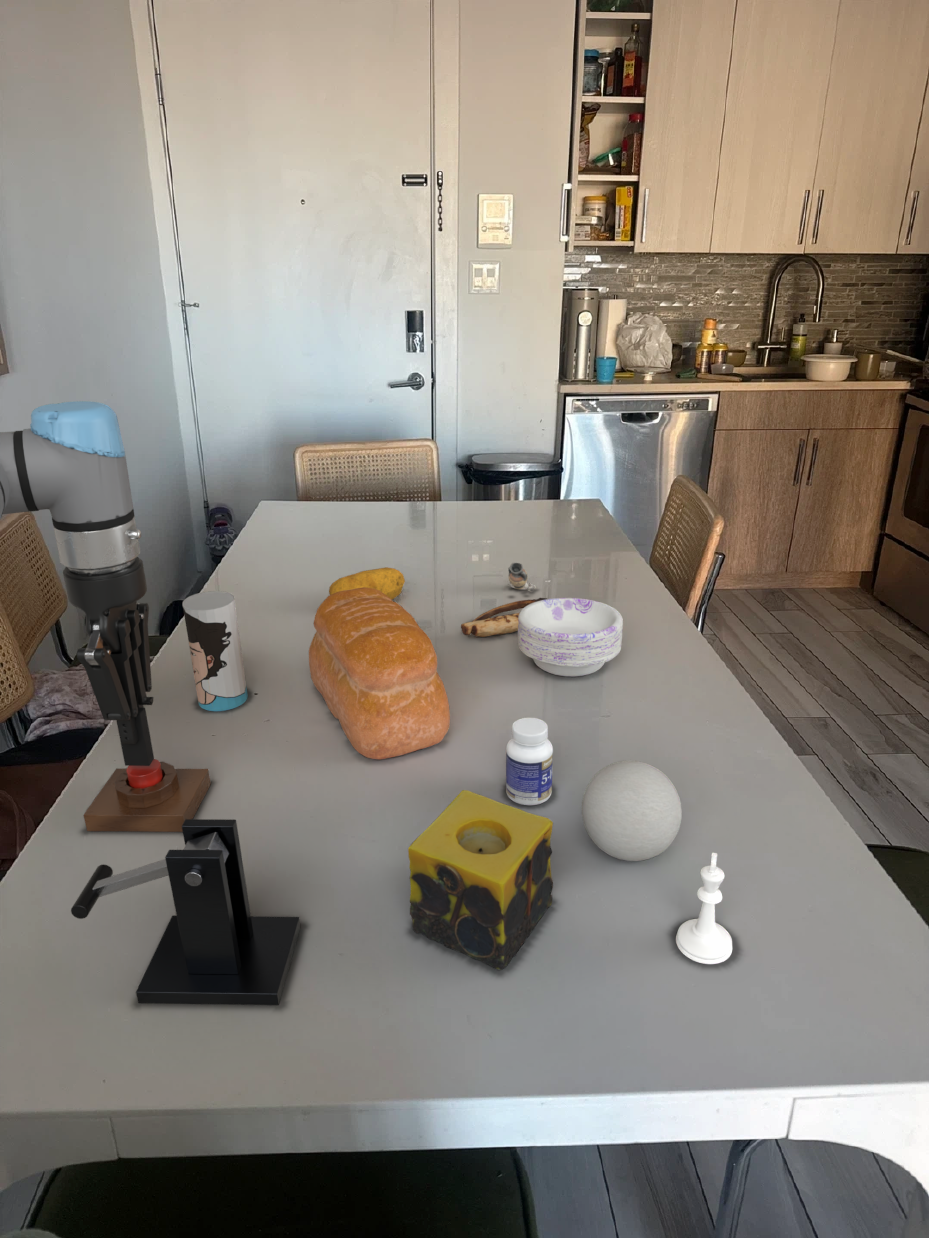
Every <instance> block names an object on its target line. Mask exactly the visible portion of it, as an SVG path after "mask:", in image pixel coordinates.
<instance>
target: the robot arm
mask: <svg viewBox="0 0 929 1238" xmlns="http://www.w3.org/2000/svg"><path fill="white" fill-rule="evenodd" d="M118 419H119V418H118V416H117V414H116V412H115V411H114V409H113V408H111V407H110V406H109V405H108V404H106V403H102V402H98V401H89V400H88V401H83V400H82V401H81V400H79V401H78V400H76V401H64V402H60V403H48V404H44V405H41V406H38V407H35V408H34V409H33V410H32V411H31V413H30V420H31V422H30V425H29V428H23V430H14V431H0V520H1V518H2V517H3V515H9V514H19V513H29V512H31V513H32V512H38V511H42V510H43V511H44V510H49V513H50V515H51V522H52V527H53V531H54V538H55V542H56V547H57V552H58V558H59V562H60V564H61V565H62V566H64V569H63V570H62V576H63V580H64V584H65V590H66V594H67V599H68V602H69V603H70V604H71V605H72V606H73V607H75V608H78V609H80V610H81V611H82V612H83V613H85V632H86V634H87V636H88V637H89V639H88V642H87V646H86V647H79V648H77V651H76V659H77V660H78V661H79V662H80V664H81V666H82V667H83V668H84V669H85V672H86V675H87V678H88V680H89V683H90V686H91V688H92V692H93V694H94V697H95V700H96V703H97V705H98V707H99V710H100V714H101V716H102V718H103V720H104V721H116V725H117V730H118V736H119V741H120V747H121V751H122V757H123V762H124V766H127V767H128V766H150V764H151V763H152V761H153V760H154V759H155V755H154V750H153V744H152V739H151V733H150V728H149V727H150V726H149V722H148V717H147V710H146V707H145V706H152V705H153V703H154V701H155V700H154V696H147V693H150V692H151V691H152V687H153V685H152V684H153V683H152V670H151V653H150V638H149V625H148V624H149V614H150V607H149V603H148V602H138V601H139V600H141V599H142V598H144V597H145V595H146V594H147V590H148V585H147V580H146V579H147V578H146V574H145V568H144V561H143V560H142V559H141V558H140V557H139V556H140V554H141V547H140V539H141V538H142V531H141V530H140V529H138V527H137V523H136V517H135V510H134V503H133V496H132V490H131V483H130V477H129V476H130V475H129V470H128V463H127V457H126V451H125V447H124V442H123V438H122V434H121V428H120V424H119V420H118Z"/></svg>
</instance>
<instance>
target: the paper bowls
mask: <svg viewBox="0 0 929 1238" xmlns="http://www.w3.org/2000/svg"><path fill="white" fill-rule="evenodd" d="M518 613H519V617H518V621H519V624H518V631H517V646H518V648H519V650H520V651H521V652H522V653H523V654H524V655H525V656H527V657H529V658H530V659H532V660H533V662H534V663H535V665H536V666H537V667H538V668H540V669H541V670H543V671H544V672H546V673H549V674H551V675H556V676H560V677H571V678H572V677H584V676H588V675H592V674H594V673H595V672H597V671H599V670H600V669H601V668H603V666H604V665H605V663H606V662H609V661H612V660H613V659H614V658H616V657H617V656H618V655H619V654H620V652H621V650H622V641H623V628H624V620H623V619H624V618H623V616H622V614H621V613H620V611H618V609H616V608H615V607H613V606H611V605H609V604H606V603H604V602H601V601H597V600H593V599H589V598H588V599H587V598H581V597H553V598H547V599H546V600H541V601H537V602H534V603H531V604H529V605H527V606H526V607H524V608H521V609H520V611H519V612H518Z"/></svg>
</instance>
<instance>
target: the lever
mask: <svg viewBox="0 0 929 1238" xmlns="http://www.w3.org/2000/svg"><path fill="white" fill-rule="evenodd" d="M182 850H222V851H223V857H224V863H225V862H226V859H227V857H228V855H229V852H228V850H227V848H226V847H225V845H224V844H223V842H222V840H221V839H220V837H219V836H218V834H217V832H214V833H211V834H208V835H205V836H201V837H198V838H195V839H192V840H189V841H187V843H186V845H185V844H184V847H183V849H182ZM113 874H114V870H113V868H112V867H111V866H110V865H108V864H104V863H103V864H100V865H98V866H97V867H96V869H95V870H94V872H93V874H92V875H91V877H90V878H89V880H88V882H87V883H86V885H85V886H84V888H83V889H82V890H81V892H80V894H79V896H78V897H77V898H76V900H75V902H74V903H73V905H72V907H71V909H70V913H71V915H72V916H73V917H74V918H76V919H79V920H82V919H86V918H87V917H88V916H89V915H90V913H91V911H92V909H93V907H94V906H95V904H96V903H97V901H98V899H99V898H102V897H104V896H107V895H111V894H114V893H117V892H120V891H123V890H124V891H125V890H127V889H130V888H132V887H136V886H140V885H142V884H143V885H144V884H147V883H149V882H152V881H156V880H159V879H162V878H164V877H167V876H168V877H169V874H168V869H167V864H166V859H165V858H164V859H161V860H158V861H155V862H152V863H149V864H146V865H142V866H139V867H136V868H133V869H130V870H127V871H124V872H120V873H117V874H114V875H113Z"/></svg>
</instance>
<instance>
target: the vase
mask: <svg viewBox="0 0 929 1238" xmlns="http://www.w3.org/2000/svg"><path fill="white" fill-rule="evenodd" d="M507 577H508V581H509V583H507V586H509V587H511V589H512V588H513V589H515V590H522V591H523V590H527V592H528V591H529V592H533V591H534V590H536V589H537V586H536V585H535V584H533V583H531V582H529V583H528V582H527V581H528V573H527V571H526V569H525V568H524V566H523V564H522V563H519V562H512V563H511V564H510V566H509V567H508V575H507ZM535 578H537V577H535ZM531 590H532V591H531Z"/></svg>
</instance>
